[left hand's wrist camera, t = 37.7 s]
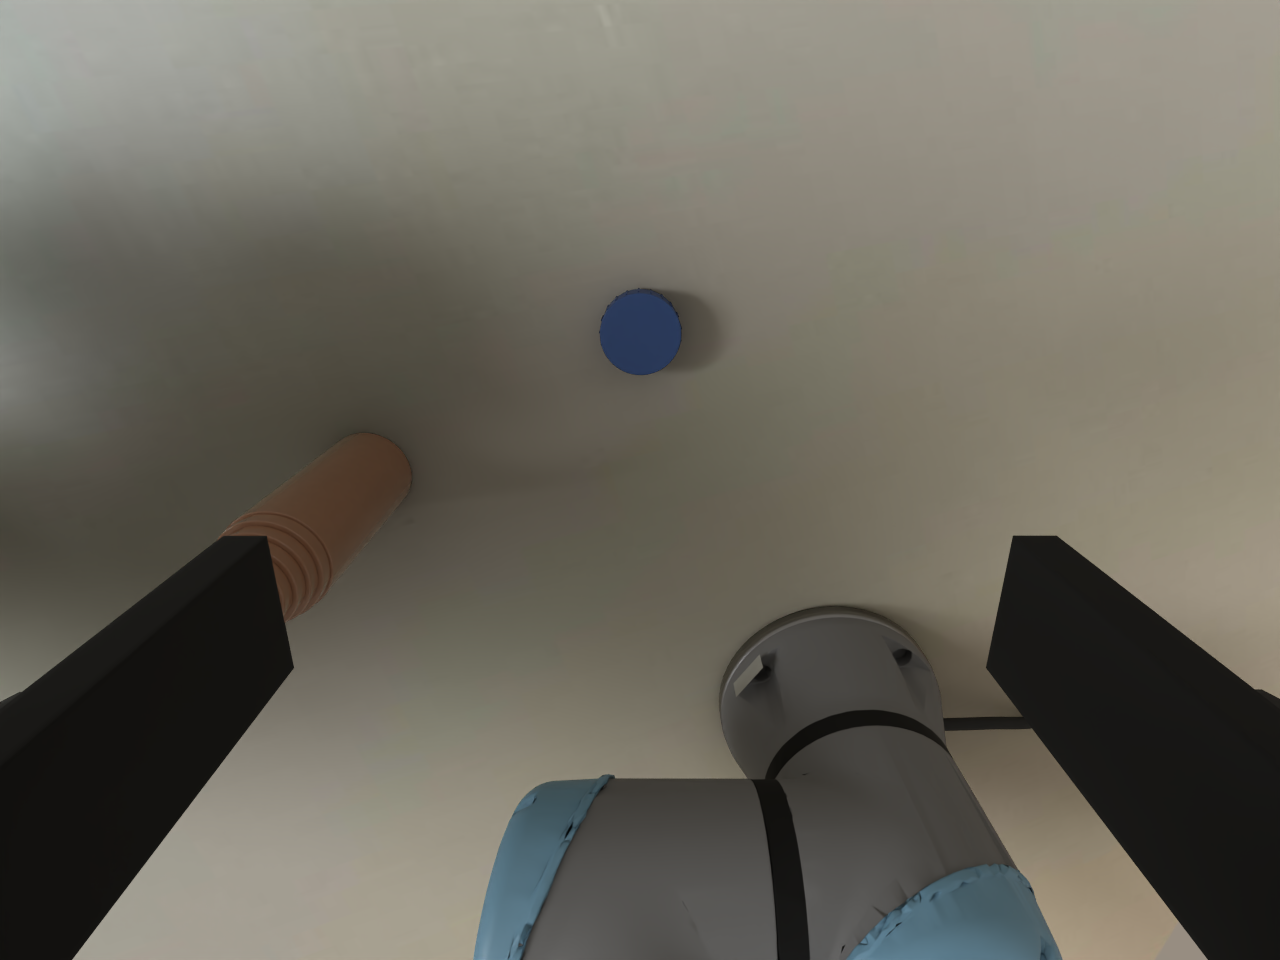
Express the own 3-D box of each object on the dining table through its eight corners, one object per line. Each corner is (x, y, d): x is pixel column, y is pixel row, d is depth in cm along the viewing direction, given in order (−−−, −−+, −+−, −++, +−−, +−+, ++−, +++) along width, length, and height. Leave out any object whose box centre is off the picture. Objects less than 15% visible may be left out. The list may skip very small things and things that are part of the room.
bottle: (316, 437, 44) (107, 583, 27) (400, 427, 44) (244, 568, 27) (340, 516, 46) (158, 699, 29) (420, 506, 46) (287, 686, 29)
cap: (628, 382, 43) (628, 391, 41) (585, 316, 42) (582, 322, 40) (694, 340, 42) (697, 347, 40) (652, 272, 41) (653, 275, 39)
